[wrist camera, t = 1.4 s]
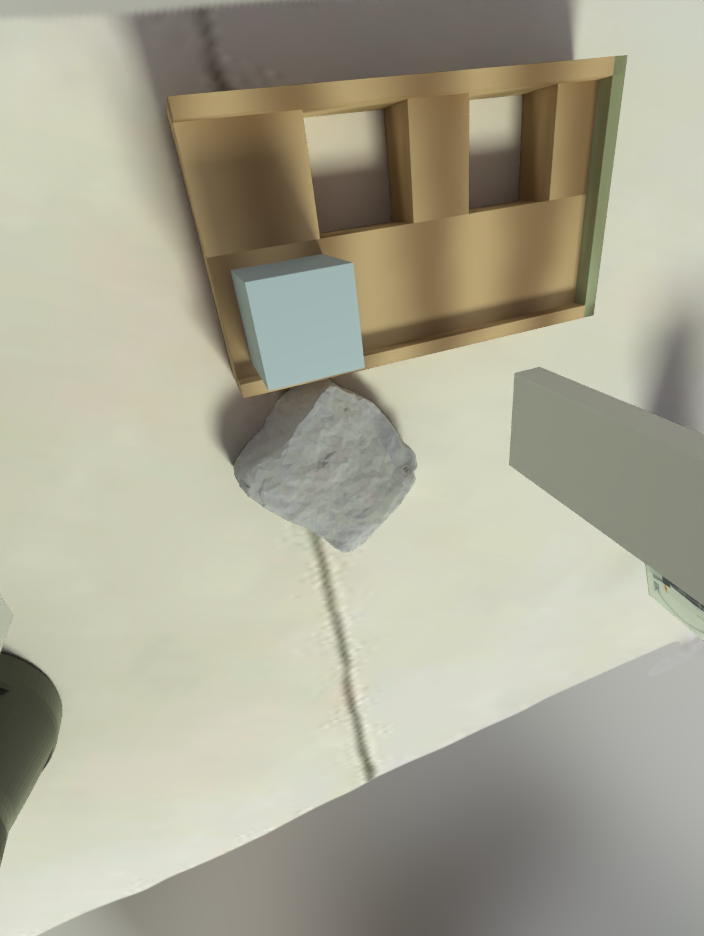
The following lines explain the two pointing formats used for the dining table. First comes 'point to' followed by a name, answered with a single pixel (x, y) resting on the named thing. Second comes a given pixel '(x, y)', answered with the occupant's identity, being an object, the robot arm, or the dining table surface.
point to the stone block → (327, 463)
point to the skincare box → (676, 601)
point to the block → (300, 319)
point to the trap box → (412, 202)
